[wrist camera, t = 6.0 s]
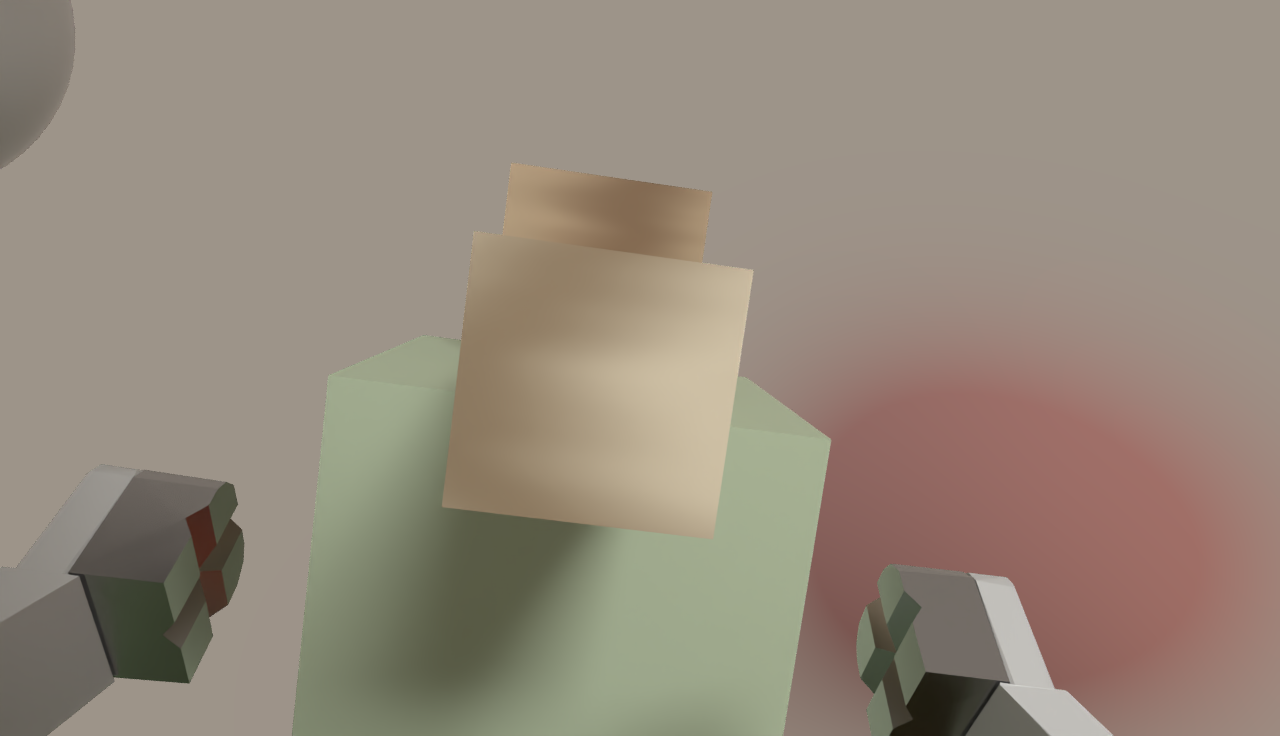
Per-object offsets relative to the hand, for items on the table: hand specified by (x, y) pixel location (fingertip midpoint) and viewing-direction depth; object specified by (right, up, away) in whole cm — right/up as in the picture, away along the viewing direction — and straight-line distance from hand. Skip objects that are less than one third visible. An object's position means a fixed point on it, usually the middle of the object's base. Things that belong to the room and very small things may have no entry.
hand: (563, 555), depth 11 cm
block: (0, +2, +7) cm, 8 cm away
